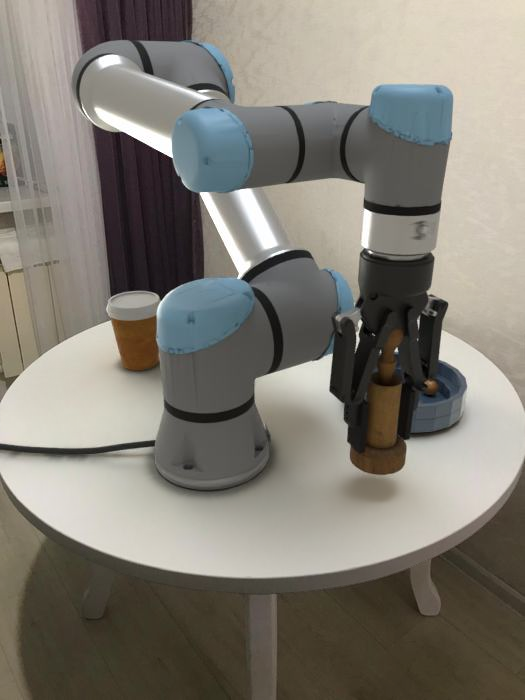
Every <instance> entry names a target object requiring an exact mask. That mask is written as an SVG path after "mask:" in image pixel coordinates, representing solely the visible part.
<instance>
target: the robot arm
mask: <svg viewBox="0 0 525 700" xmlns="http://www.w3.org/2000/svg"><path fill="white" fill-rule="evenodd" d="M233 80H234V74H233V70H232V67H231V65H230V64H229V61H228V60H227V58H226V57H225V55H224V54H223V53H222V52H221V50H220V49H219V48H217V47H216V46H215V45H213V44H210V43H207V42H199V41H198V42H197V41H195V40H189V39H186V40H181V41H164V40H163V41H162V40H161V41H160V40H127V39H117V40H109V41H105V42H102V43H99V44H97V45H95V46H93V47H92V48H89V49H88V50H87V51H86V52H84V53H83V55H82V56H81V57H80V58H79V59H78V60H77V62H76V64H75V65H74V68H73V70H72V74H71V79H70V90H71V95H72V97H73V102H74V104H75V106H76V107H77V109H78V112H79V113H80V114H81V115H82V116H83V117H84V118H85V119H86V120H87V121H89V122H90V123H91V124H93V125H95V126H96V127H98V128H100V129H102V130H104V131H108V132H110V133H111V132H112V133H121V132H123V133H126V134H127V135H129V136H131V137H133V138H134V139H137V140H138V141H140V142H142V143H144V144H146V145H147V146H149V147H151V148H152V149H154V150H157V151H159V152H161V153H163V154H164V155H165V156H166V155H167V156H168V157H170V158H172V162H173V163H172V164H173V167H174V169H175V172H176V174H177V176H178V177H180V179H181V183H182V184H183V186H185V188H187V190H189V191H191V192H194V193H197V194H200V196H201V199H202V200H203V202H204V205H205V206H206V209H207V211H208V213H209V215H210V217H211V219H212V221H213V223H214V225H215V227H216V229H217V232H218V233H219V236H220V238H221V240H222V241H223V243H224V246H225V248H226V250H227V252H228V254H229V257H230V258H231V260H232V262H233V264H234V267H235V268H236V271H237V272H238V277H233V276H219V277H217V278H213V277H205V278H200V279H196V280H192V281H189V282H187V283H184V284H181V285H179V286H177V287H175V288H174V289H171V290H170V291H169V292H168V293H167V294H165V296H164V297H163V298H162V300H160V301H161V302H160V304H159V306H158V309H157V332H156V341H157V344H158V349H159V367H160V378H161V388H162V396H163V411H162V415H161V419H160V423H159V426H158V430H157V433H156V437H155V439H151V440H142V441H132V442H124V443H117V444H111V445H103V446H96V447H76V448H75V447H47V446H30V445H29V446H28V445H16V444H9V443H1V442H0V451H6V452H13V453H14V452H16V453H26V454H43V455H60V456H61V455H62V456H63V455H64V456H65V455H66V456H67V455H68V456H69V455H70V456H73V455H74V456H77V455H79V456H80V455H81V456H83V455H98V454H107V453H112V452H119V451H126V450H134V449H144V448H153V454H154V464H155V467H156V469H157V471H158V473H159V474H160V475H161V476H162V477H163V478H165V479H166V480H167V481H169V482H170V483H173V484H174V485H176V486H180V487H182V488H186V489H190V490H199V491H215V490H223V489H229V488H232V487H236V486H239V485H241V484H244V483H247V482H249V481H250V480H252V479H253V478H255V477H256V476H258V475H259V474H260V473H261V472H262V471H263V470H264V469H265V468H266V466H267V463H268V462H269V458H270V444H272V443H271V440H272V439H271V437H272V436H271V435H272V434H271V433H270V431H269V428H268V426H267V423H266V422H265V423H263V422H264V421H263V420H262V417H261V414H260V413H259V410H258V407H257V404H256V396H255V395H256V394H255V392H256V391H255V386H256V385H255V384H256V383H255V380H256V379H258V378H261V377H264V376H267V375H270V374H274V373H277V372H280V371H284V370H287V369H291V368H294V367H296V366H299V365H302V364H303V365H304V364H306V363H310V362H315V361H316V362H317V361H320V360H322V359H323V358H324V357H326V356H329V355H332V356H331V357H332V358H331V368H330V376H329V377H330V378H329V387H328V391H329V392H330V394H331V395H332V396H334V397H335V398H336V399H337V400H338V401H339V402H341V403H342V404H344V405H343V418H342V419H343V421H344V423H345V424H346V425H347V435H346V437H347V438H346V442H347V443H348V444H349V445H350V446H352V447H353V448H354V449H355V450H356V451H357V452H358V453H359V454H360V453H363V452H365V446H366V435H367V423H368V412H369V403H368V402H367V401H366V400H365V399H364V397H365V394H366V391H367V388H368V385H369V382H370V379H371V376H372V374H373V371H374V368H375V365H376V362H377V359H378V356H379V353H381V349H383V348H384V347H385V346H386V343H387V340H388V337H389V334H390V333H391V332H392V331H393V330H395V329H400V330H402V332H403V335H404V336H403V340H402V342H401V343H400V344H399V346H398V347H397V348H396V349H397V352H398V354H399V360H400V366H401V372H402V378H403V380H405V383H403V382H402V388H401V396H400V405H399V415H398V425H397V435H398V436H400V437H401V438H402V439H403V440H404V441H408V440H410V439H411V426H412V418H413V411H416V409H417V407H418V401H419V394H420V392H425V391H426V390H427V388H428V385H427V384H425V382H426V381H428V380H429V381H434V380H435V379H436V377H437V370H438V361H439V360H440V350H441V341H442V340H441V339H442V331H443V330H442V329H443V322H444V319H445V316H446V313H447V311H448V308H449V302H448V301H447V300H444V299H443V298H440V297H438V296H436V295H435V294H432V293H430V294H428V291H429V290H431V287H432V284H433V283H432V282H433V276H434V268H435V260H436V258H435V257H436V256H434V254H433V253H432V252H433V251H434V250H435V249H436V248H437V242H438V234H439V228H440V221H441V220H440V219H441V212H442V211H441V210H442V202H443V200H442V196H443V189H444V184H445V183H444V182H445V177H446V171H447V165H448V158H449V154H450V153H449V152H450V147H451V142H452V140H453V111H454V95H453V92H452V90H451V89H450V88H449V87H448V86H446V85H443V84H432V83H431V84H425V83H424V84H416V83H396V84H394V83H393V84H392V83H391V84H389V83H388V84H378V85H376V86H375V87H374V88H373V90H372V92H371V96H370V104H369V105H365V104H355V103H343V102H338V101H333V100H325V101H322V100H321V101H320V100H317V101H310V102H306V103H303V104H288V105H287V104H286V105H272V106H244V105H239V104H235V101H236V100H235V99H236V85H235V84H233ZM328 179H337V180H338V179H339V180H344V181H351V182H355V183H359V184H364V191H363V192H364V194H363V195H364V196H363V205H362V217H361V228H360V241H359V244H360V245H361V247H362V248H363V249H362V250H361V251H360V252H359V261H358V273H357V282H358V287H359V294H358V297H357V299H356V301H355V300H354V295H353V292H352V289H351V286H350V285H349V283H348V280H346V278H345V277H344V276H343V275H342V273H340V272H339V271H335V270H334V269H333V268H329V267H328V268H327V267H324V268H320V267H319V266H318V264H317V262H316V260H315V259H314V257H313V255H312V253H311V251H310V250H309V249H308V248H305V247H300V246H296V245H294V242H293V240H292V238H291V237H290V234H289V233H288V231H287V229H286V227H285V225H284V223H283V222H282V220H281V218H280V215H279V214H278V212H277V210H276V208H275V206H274V204H273V202H272V201H271V199H270V197H269V195H268V193H267V190H266V189H265V187H271V186H277V185H284V184H296V183H304V182H312V181H319V180H328ZM418 319H419V322H418ZM360 321H361V325H360V327H359V322H360ZM357 332H358V338H359V340H358V343H357ZM426 365H427V366H426ZM264 424H265V425H264Z"/></svg>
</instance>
